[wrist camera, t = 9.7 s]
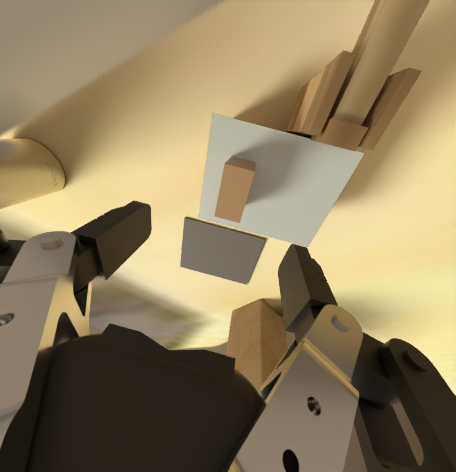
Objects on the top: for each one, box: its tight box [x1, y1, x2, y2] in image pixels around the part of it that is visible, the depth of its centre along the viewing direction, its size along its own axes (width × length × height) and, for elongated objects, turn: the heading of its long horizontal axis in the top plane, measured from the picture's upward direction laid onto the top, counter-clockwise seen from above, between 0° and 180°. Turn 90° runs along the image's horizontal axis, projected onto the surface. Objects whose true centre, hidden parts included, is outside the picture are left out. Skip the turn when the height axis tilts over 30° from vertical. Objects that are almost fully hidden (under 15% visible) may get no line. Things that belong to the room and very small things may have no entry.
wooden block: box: [226, 299, 288, 391], centre depth 38 cm, size 10×10×20 cm
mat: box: [180, 217, 265, 284], centre depth 37 cm, size 16×13×1 cm
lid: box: [198, 113, 365, 247], centre depth 18 cm, size 15×11×7 cm
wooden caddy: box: [287, 51, 421, 150], centre depth 20 cm, size 14×16×12 cm
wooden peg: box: [311, 0, 430, 151], centre depth 11 cm, size 3×12×3 cm, turn 167°
